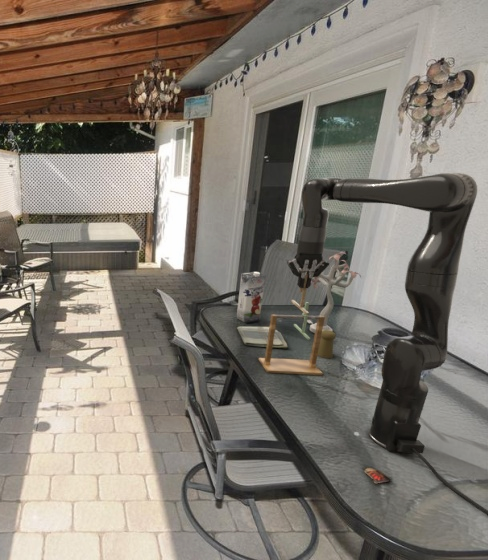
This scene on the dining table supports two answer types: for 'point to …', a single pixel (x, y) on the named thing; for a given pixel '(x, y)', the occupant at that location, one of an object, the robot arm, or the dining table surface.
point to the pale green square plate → (260, 337)
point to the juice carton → (250, 296)
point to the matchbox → (377, 475)
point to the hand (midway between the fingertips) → (303, 287)
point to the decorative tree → (331, 281)
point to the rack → (292, 364)
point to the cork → (326, 344)
